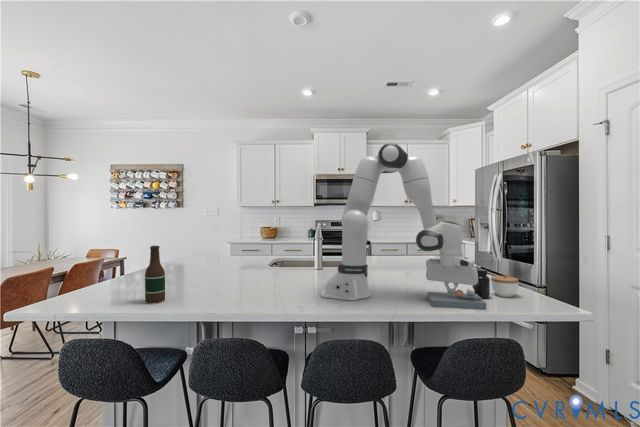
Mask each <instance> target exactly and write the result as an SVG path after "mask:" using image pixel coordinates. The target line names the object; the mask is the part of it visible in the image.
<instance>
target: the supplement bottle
mask: <svg viewBox="0 0 640 427" xmlns="http://www.w3.org/2000/svg"><path fill="white" fill-rule="evenodd" d="M476 269H477V273H478V283H477V284H476V285H472V288H473V289H474V290H475V293H474V294H477V295H478V296H479V297H480V298H482V299H483V300H485V299H486V300H487V299H490V297H491V289H490V287H491V284H490V283H491V278H490V277H489V276H488V269H483V268H481V269H480V268H476Z"/></svg>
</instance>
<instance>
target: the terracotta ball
mask: <svg viewBox="0 0 640 427" xmlns="http://www.w3.org/2000/svg"><path fill="white" fill-rule="evenodd" d="M455 295H456V296H457V297H459V298H461V297H463V295H464V291H463V290H462V289H456V290H455Z"/></svg>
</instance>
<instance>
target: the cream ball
mask: <svg viewBox="0 0 640 427" xmlns="http://www.w3.org/2000/svg"><path fill="white" fill-rule="evenodd" d="M474 293H475V290H474V289H473V287H467V288H466V294H469V295H473V294H474Z"/></svg>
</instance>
